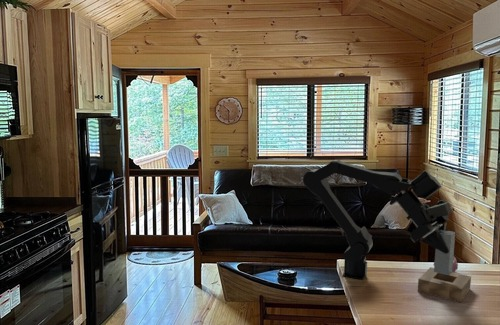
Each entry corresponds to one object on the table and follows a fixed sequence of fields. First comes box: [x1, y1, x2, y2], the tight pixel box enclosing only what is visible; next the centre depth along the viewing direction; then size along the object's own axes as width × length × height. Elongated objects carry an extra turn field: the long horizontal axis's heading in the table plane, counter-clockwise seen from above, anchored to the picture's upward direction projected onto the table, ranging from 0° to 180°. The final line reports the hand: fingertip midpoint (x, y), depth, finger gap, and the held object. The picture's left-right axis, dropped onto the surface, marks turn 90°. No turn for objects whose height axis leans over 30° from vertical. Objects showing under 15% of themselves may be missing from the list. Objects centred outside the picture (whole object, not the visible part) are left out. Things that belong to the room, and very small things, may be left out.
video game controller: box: [433, 255, 459, 273], centre depth 148 cm, size 10×5×7 cm, turn 169°
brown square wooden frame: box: [417, 267, 472, 304], centre depth 133 cm, size 12×12×4 cm
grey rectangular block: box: [433, 230, 456, 275], centre depth 129 cm, size 4×4×12 cm
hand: (449, 251), depth 128 cm, fingers closed on grey rectangular block, 4 cm apart
